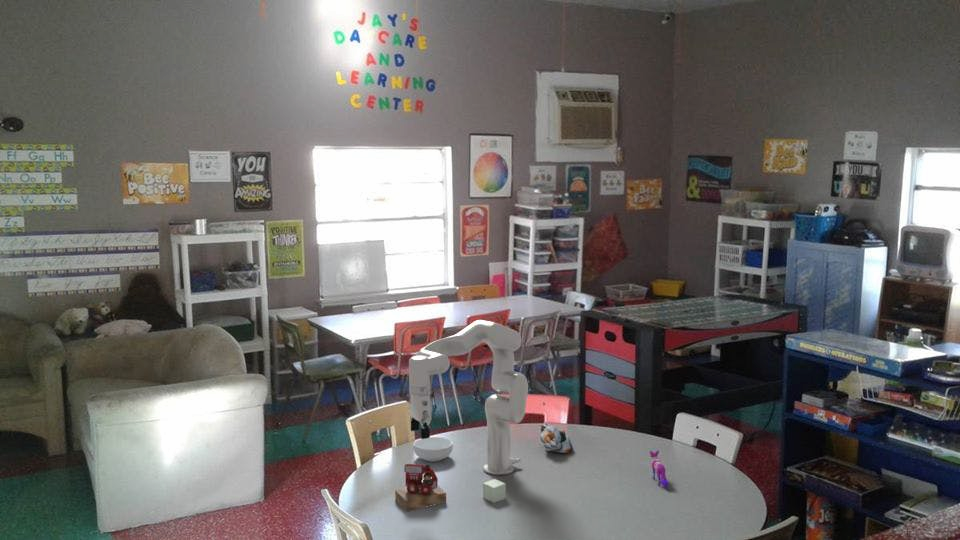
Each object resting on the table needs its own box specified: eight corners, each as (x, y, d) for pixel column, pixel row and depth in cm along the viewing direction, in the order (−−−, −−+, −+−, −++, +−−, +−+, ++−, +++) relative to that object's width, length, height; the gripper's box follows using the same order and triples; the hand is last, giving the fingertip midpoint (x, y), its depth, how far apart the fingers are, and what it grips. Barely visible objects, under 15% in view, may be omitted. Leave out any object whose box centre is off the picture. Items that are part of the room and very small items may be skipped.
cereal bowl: (460, 456, 344) (460, 440, 343) (438, 468, 330) (437, 452, 329) (428, 449, 353) (428, 433, 352) (405, 460, 339) (405, 444, 338)
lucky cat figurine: (577, 453, 347) (567, 430, 340) (552, 465, 346) (542, 442, 340) (566, 433, 360) (557, 410, 354) (542, 444, 360) (532, 422, 353)
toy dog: (656, 472, 326) (656, 448, 325) (671, 490, 308) (672, 464, 307) (647, 472, 326) (648, 448, 324) (661, 490, 308) (662, 465, 306)
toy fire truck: (435, 495, 294) (435, 468, 292) (402, 494, 295) (402, 467, 294) (438, 488, 300) (438, 461, 299) (406, 486, 302) (406, 460, 301)
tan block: (434, 492, 307) (434, 482, 306) (446, 502, 297) (446, 492, 296) (395, 500, 299) (395, 490, 299) (406, 511, 290) (406, 501, 289)
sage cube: (494, 493, 305) (494, 478, 304) (505, 498, 301) (505, 483, 300) (483, 498, 301) (483, 483, 300) (493, 503, 297) (493, 487, 296)
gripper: (438, 394, 287) (438, 439, 289) (419, 382, 302) (420, 425, 304) (419, 397, 283) (419, 443, 285) (401, 385, 298) (402, 429, 301)
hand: (420, 434), depth 295 cm, fingers open, 9 cm apart
